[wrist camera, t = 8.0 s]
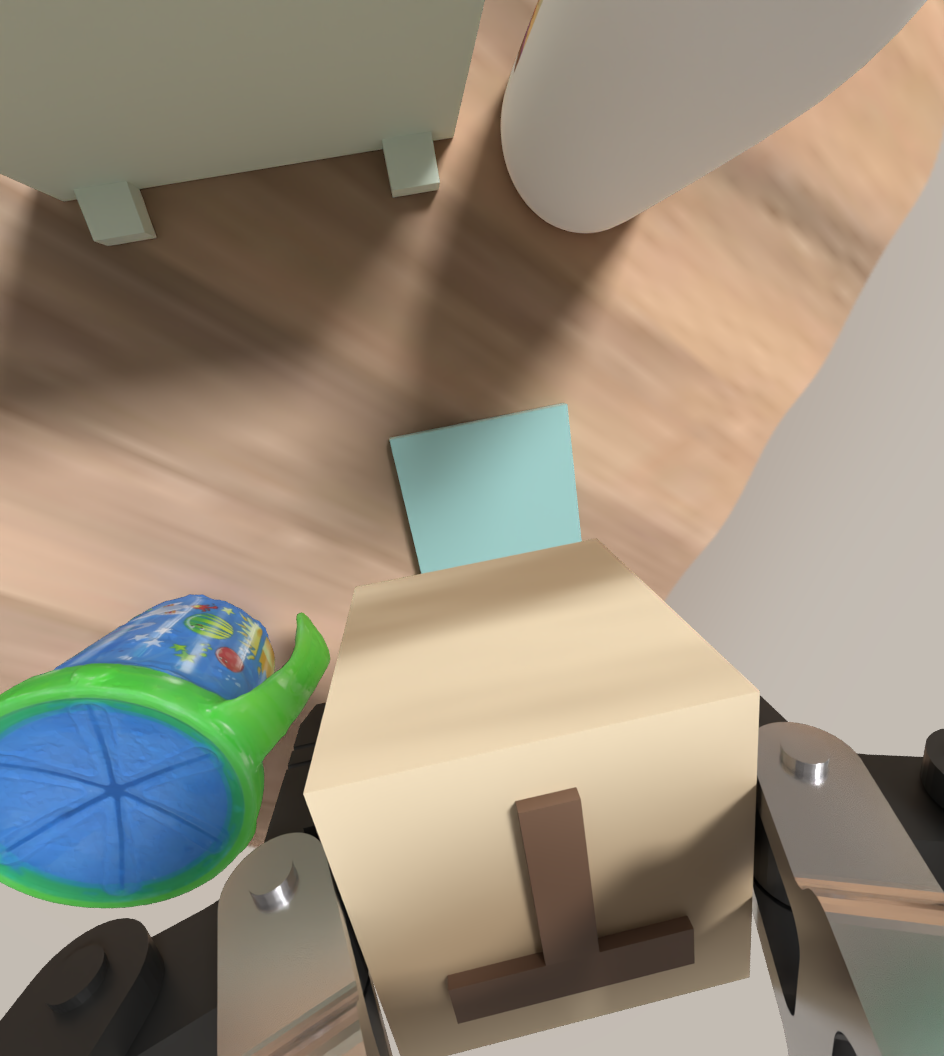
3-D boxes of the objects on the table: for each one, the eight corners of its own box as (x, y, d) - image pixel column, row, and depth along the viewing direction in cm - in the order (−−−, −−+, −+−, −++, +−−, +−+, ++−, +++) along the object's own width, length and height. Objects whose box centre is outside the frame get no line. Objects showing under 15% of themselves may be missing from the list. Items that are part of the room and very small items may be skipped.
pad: (389, 437, 24) (389, 439, 24) (563, 402, 25) (567, 404, 24) (427, 594, 28) (427, 599, 27) (580, 560, 28) (583, 564, 28)
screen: (22, 102, 18) (-561, -280, 7) (437, 39, 19) (483, -385, 8) (83, 250, 20) (-312, 125, 9) (460, 186, 21) (524, 1, 10)
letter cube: (354, 587, 10) (299, 807, 5) (596, 538, 10) (770, 700, 5) (408, 782, 11) (407, 1089, 7) (614, 736, 12) (756, 998, 7)
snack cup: (299, 519, 25) (236, 619, 16) (376, 676, 29) (363, 834, 20) (11, 620, 25) (-227, 783, 16) (126, 765, 29) (-9, 967, 19)
